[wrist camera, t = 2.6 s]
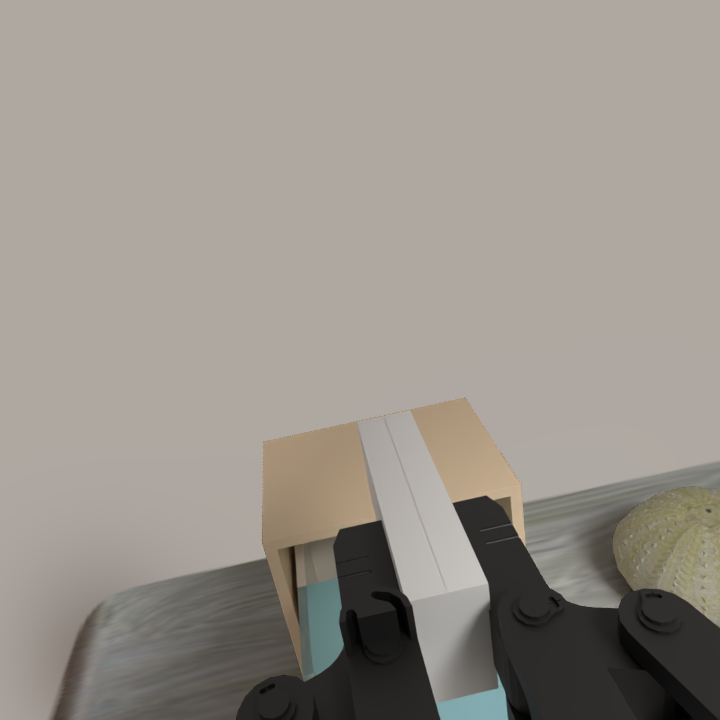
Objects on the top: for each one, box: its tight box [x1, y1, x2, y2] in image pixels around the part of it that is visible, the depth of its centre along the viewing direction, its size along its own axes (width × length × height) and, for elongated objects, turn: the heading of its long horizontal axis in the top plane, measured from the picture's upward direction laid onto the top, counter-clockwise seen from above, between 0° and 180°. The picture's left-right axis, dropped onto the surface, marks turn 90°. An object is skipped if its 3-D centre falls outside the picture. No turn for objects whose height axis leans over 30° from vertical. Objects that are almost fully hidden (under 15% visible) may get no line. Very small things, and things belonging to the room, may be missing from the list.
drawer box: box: [295, 536, 508, 720], centre depth 30 cm, size 10×9×9 cm
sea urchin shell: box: [612, 486, 720, 628], centre depth 35 cm, size 9×8×8 cm
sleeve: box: [262, 398, 526, 680], centre depth 32 cm, size 8×11×13 cm
